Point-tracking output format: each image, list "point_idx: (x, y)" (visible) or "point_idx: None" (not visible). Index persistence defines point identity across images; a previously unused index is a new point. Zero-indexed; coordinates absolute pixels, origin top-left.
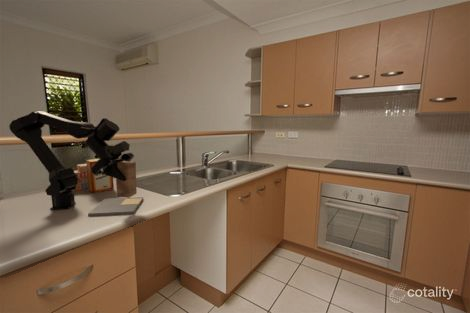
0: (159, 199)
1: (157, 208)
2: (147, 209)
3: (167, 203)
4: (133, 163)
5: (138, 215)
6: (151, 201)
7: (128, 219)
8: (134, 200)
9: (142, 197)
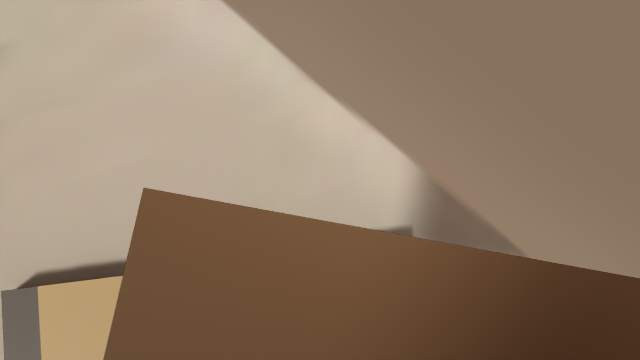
0: (26, 121)
1: (266, 75)
2: (288, 155)
3: (144, 17)
4: (343, 227)
5: (419, 188)
6: (81, 183)
7: (499, 240)
8: (105, 346)
9: (7, 295)
